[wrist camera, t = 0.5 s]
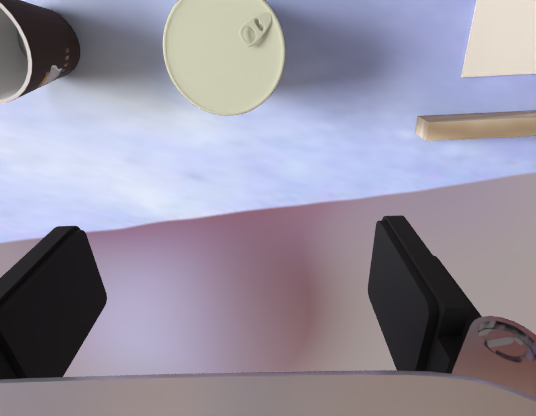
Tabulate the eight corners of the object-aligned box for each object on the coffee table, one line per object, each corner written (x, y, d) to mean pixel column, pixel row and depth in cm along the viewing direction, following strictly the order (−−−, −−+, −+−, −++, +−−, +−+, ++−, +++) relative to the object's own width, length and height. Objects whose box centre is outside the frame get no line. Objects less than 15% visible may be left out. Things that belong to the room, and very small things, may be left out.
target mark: (489, -62, 31) (490, -63, 31) (622, -70, 31) (624, -71, 30) (460, 77, 36) (461, 77, 36) (573, 71, 36) (574, 71, 36)
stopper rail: (417, 116, 38) (428, 122, 36) (596, 107, 38) (621, 113, 35) (415, 133, 39) (425, 140, 37) (589, 125, 39) (612, 132, 36)
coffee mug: (62, -18, 32) (-15, -37, 24) (105, 74, 36) (53, 87, 27) (-40, 19, 34) (-149, 14, 25) (12, 104, 38) (-66, 126, 29)
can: (298, 57, 36) (311, 67, 25) (231, 110, 38) (217, 140, 27) (243, -27, 32) (231, -57, 22) (174, 38, 35) (132, 40, 24)
